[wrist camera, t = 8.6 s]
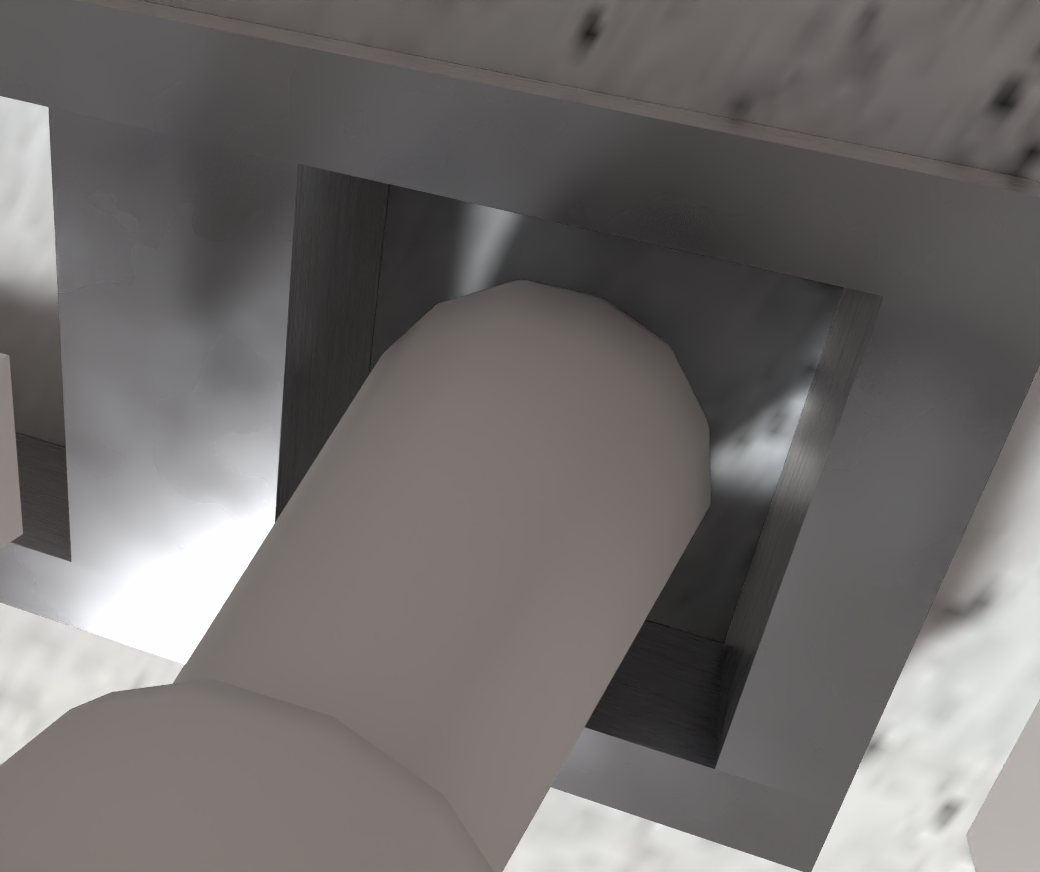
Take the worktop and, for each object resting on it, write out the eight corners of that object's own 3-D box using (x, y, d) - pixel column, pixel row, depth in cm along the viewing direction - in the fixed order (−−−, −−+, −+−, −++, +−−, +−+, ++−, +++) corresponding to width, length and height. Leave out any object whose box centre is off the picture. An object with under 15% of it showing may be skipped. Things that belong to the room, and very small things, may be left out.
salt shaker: (473, 201, 15) (-442, 599, 4) (777, 334, 15) (825, 1268, 3) (381, 472, 18) (-330, 1212, 6) (638, 593, 17) (387, 1633, 6)
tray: (-180, 427, 22) (-341, 488, 18) (-271, -83, 17) (-506, -119, 14) (802, 732, 18) (810, 874, 15) (1026, 178, 13) (1108, 210, 10)
